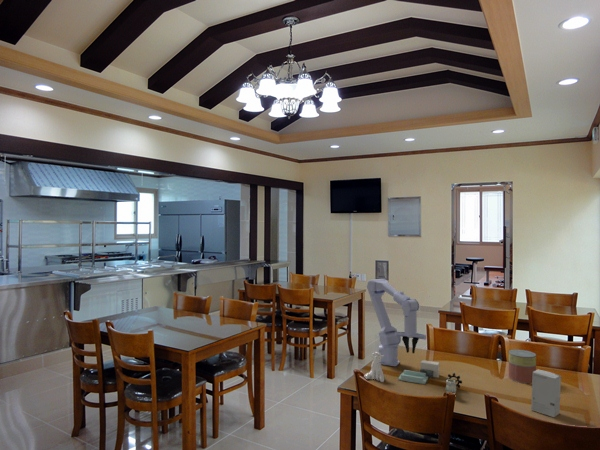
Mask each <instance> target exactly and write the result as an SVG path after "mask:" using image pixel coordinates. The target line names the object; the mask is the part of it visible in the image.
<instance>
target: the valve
mask: <svg viewBox="0 0 600 450" xmlns="http://www.w3.org/2000/svg"><path fill="white" fill-rule="evenodd" d="M460 379H461V376H460V375H457V376H456V373H455V372H453V373H452V375H451V374H447V378H446V379H445V381H446V385H445V391H446V393H447V392H452V393H455V394H457V393H456V392H457V388H458V389H460V388H461V384H463V381H462V380H460Z"/></svg>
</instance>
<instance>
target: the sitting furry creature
mask: <svg viewBox="0 0 600 450" xmlns="http://www.w3.org/2000/svg"><path fill="white" fill-rule="evenodd" d="M383 357H384V355H382V356H381V354H380V353H379V352H378V351H376V352H372V356H371V358H372V359H371V360H372V362H371V365H370V368H371V369H370V371H368V372H366V373H365V374H364V375H363V378H364V377H365V378H366V379H367V380H373V379H374V380H375V379H376V380H375V381H380V382H381V383H384V381H385V376H384V372H383V369H382V364H381V363H380V361H381V359H382V358H383ZM366 379H365V380H366Z"/></svg>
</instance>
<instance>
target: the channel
mask: <svg viewBox="0 0 600 450" xmlns="http://www.w3.org/2000/svg"><path fill="white" fill-rule="evenodd" d="M419 372H423V373H426V376H427V377H428V378H430V379H434V377H433V371H431V370H424V369H421V368H419Z"/></svg>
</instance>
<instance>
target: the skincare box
mask: <svg viewBox="0 0 600 450" xmlns="http://www.w3.org/2000/svg"><path fill="white" fill-rule="evenodd" d="M561 382H562V376H561V375H560V374H557V373H554V372H550V371H548V370H547V371H546V370H544V369H543V370H541V369H539V368H538V369H536V371H534V372H533V379H532V384H531V405H530V409H531V411H533V412H537V413H538V414H543V415H545V416H549V417H551V418H555V417H557V416H558V415H559V414H560V413H561V412H560V411H561V409H560V408H561Z"/></svg>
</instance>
